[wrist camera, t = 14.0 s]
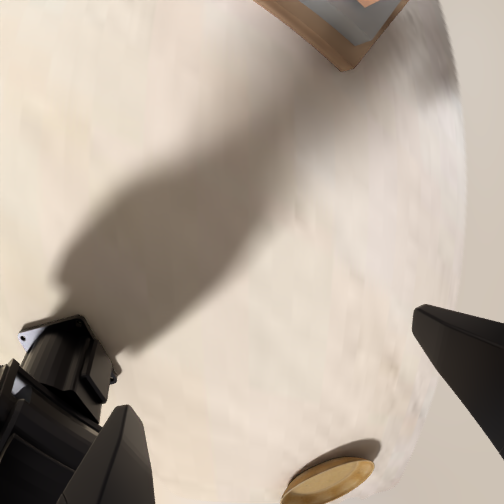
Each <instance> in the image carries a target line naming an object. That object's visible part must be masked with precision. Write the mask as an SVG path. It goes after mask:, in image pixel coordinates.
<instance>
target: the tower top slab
mask: <svg viewBox="0 0 504 504" xmlns="http://www.w3.org/2000/svg"><path fill="white" fill-rule="evenodd" d="M299 1H300V2H301V3H303V4H304V5H306V6H307V7H308V8H310V9H311V10H312V11H313V12H315V13H316V14H317V15H319V16H320V17H321V18H322V19H324V20H325V21H326V22H327V23H329V24H330V25H331V26H332V27H333V28H335V29H336V30H337V31H338V32H339V33H341V34H342V35H343V36H344V37H345V38H346V39H347V40H349V41H350V42H351V43H352V44H353V45H354V46H357V45H360V44H362V43H365V42H368V41H371V40H373V38H374V37H375V35H376V34H377V33H378V31H379V30H380V29H381V27H382V26H383V24H384V23H385V22H386V20H387V19H388V18H389V16H390V15H391V14H392V12H393V11H394V9H395V8H396V7H397V5H398V4H399V3H400V1H401V0H379V1H377V2H375V3H373V4H371V5H369V6H367V7H363V6H362V5H361V4H360V3H359V2H358V1H357V0H299Z"/></svg>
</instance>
